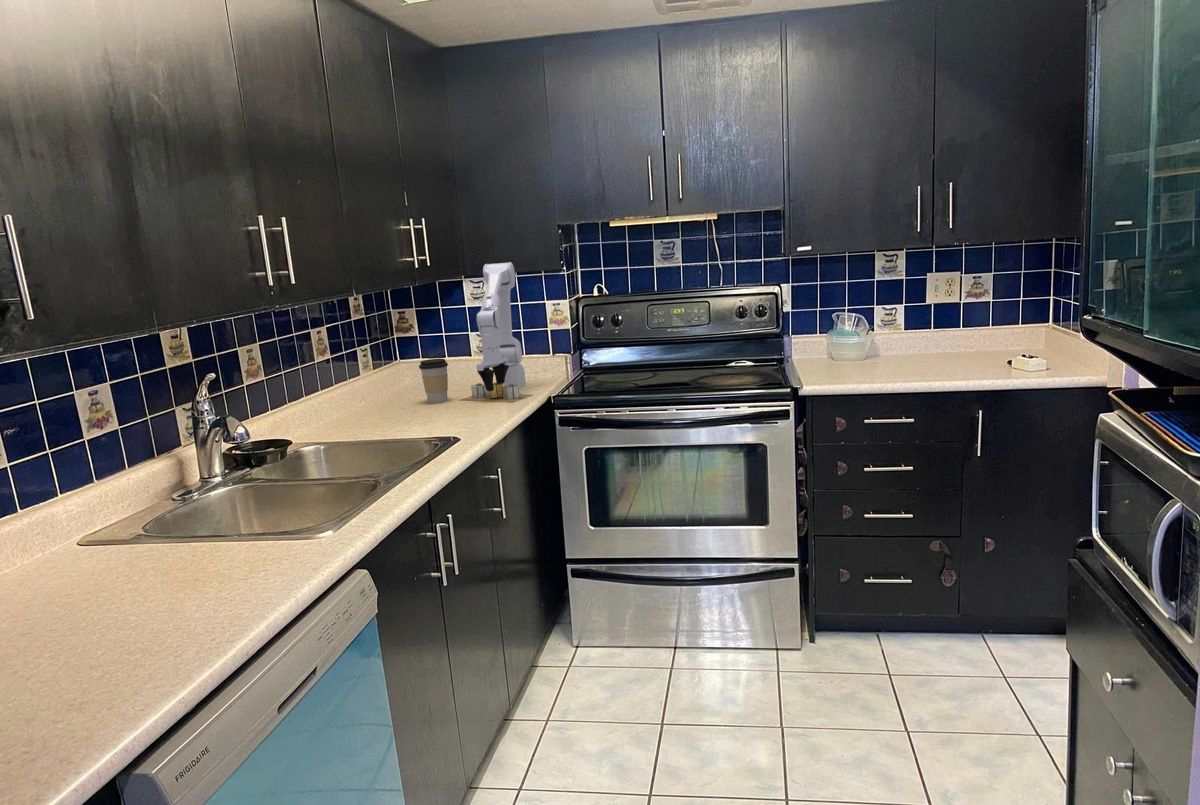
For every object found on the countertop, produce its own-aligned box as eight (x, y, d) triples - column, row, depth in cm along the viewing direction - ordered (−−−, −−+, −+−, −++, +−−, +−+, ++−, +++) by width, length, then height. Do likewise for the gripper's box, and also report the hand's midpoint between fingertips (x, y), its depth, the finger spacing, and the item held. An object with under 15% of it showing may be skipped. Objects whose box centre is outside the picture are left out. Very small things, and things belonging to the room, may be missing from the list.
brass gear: (501, 393, 269) (499, 381, 268) (508, 395, 265) (506, 383, 264) (486, 396, 267) (485, 384, 266) (493, 398, 262) (491, 386, 261)
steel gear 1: (478, 395, 273) (477, 383, 272) (491, 395, 270) (490, 383, 269) (469, 398, 268) (467, 386, 267) (481, 398, 266) (480, 386, 265)
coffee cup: (455, 401, 272) (450, 357, 269) (448, 407, 263) (442, 361, 260) (428, 403, 273) (423, 359, 270) (419, 409, 264) (414, 363, 261)
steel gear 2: (506, 397, 266) (505, 384, 265) (522, 396, 265) (520, 384, 264) (502, 400, 261) (501, 387, 260) (518, 399, 260) (517, 387, 259)
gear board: (481, 397, 277) (479, 380, 276) (534, 399, 266) (533, 381, 265) (458, 404, 267) (456, 386, 265) (513, 407, 256) (511, 388, 255)
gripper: (494, 344, 271) (498, 384, 274) (467, 351, 259) (471, 392, 261) (511, 344, 267) (515, 384, 270) (485, 351, 255) (489, 393, 258)
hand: (495, 388), depth 265 cm, fingers closed on brass gear, 5 cm apart
